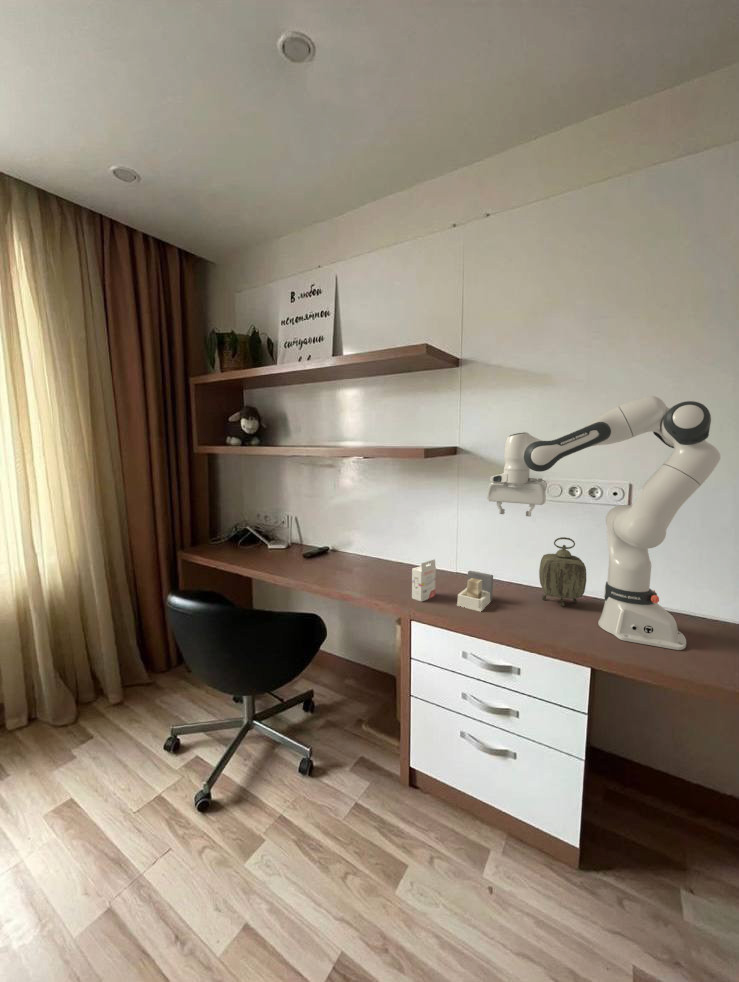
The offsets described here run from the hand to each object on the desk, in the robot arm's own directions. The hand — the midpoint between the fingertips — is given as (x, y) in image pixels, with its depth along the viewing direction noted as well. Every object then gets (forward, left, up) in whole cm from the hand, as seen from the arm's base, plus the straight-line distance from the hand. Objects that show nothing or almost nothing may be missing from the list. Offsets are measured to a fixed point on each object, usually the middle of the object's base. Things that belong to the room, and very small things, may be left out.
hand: (514, 515), depth 144 cm
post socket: (+10, +13, -32) cm, 36 cm away
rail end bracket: (+10, +13, -31) cm, 35 cm away
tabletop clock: (-16, -6, -33) cm, 37 cm away
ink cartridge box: (+28, +18, -33) cm, 46 cm away
